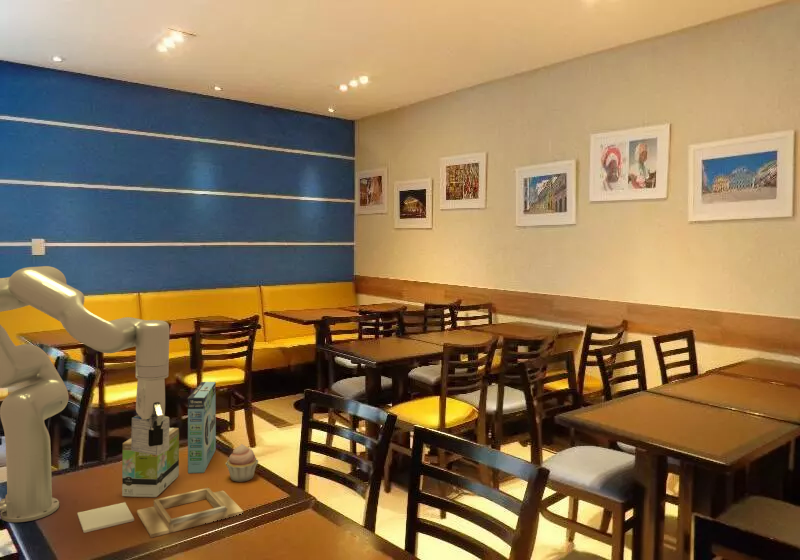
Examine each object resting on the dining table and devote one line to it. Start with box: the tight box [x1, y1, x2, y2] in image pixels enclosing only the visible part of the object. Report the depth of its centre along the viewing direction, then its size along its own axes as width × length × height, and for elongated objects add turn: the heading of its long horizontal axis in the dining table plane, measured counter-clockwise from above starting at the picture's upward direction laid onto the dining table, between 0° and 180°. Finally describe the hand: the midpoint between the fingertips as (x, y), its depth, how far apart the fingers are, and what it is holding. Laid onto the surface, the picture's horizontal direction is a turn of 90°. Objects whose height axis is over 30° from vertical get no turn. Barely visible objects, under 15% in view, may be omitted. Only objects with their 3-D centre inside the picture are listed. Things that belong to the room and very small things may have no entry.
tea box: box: [121, 427, 180, 498], centre depth 168 cm, size 15×10×15 cm, turn 179°
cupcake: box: [225, 443, 259, 483], centre depth 175 cm, size 9×9×10 cm
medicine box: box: [131, 414, 170, 455], centre depth 149 cm, size 8×4×9 cm, turn 73°
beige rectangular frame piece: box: [136, 487, 244, 539], centre depth 152 cm, size 22×15×3 cm
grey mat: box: [77, 501, 135, 534], centre depth 149 cm, size 11×11×1 cm
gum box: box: [187, 381, 217, 474], centre depth 187 cm, size 20×5×23 cm, turn 7°
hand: (150, 439), depth 150 cm, fingers closed on medicine box, 9 cm apart
